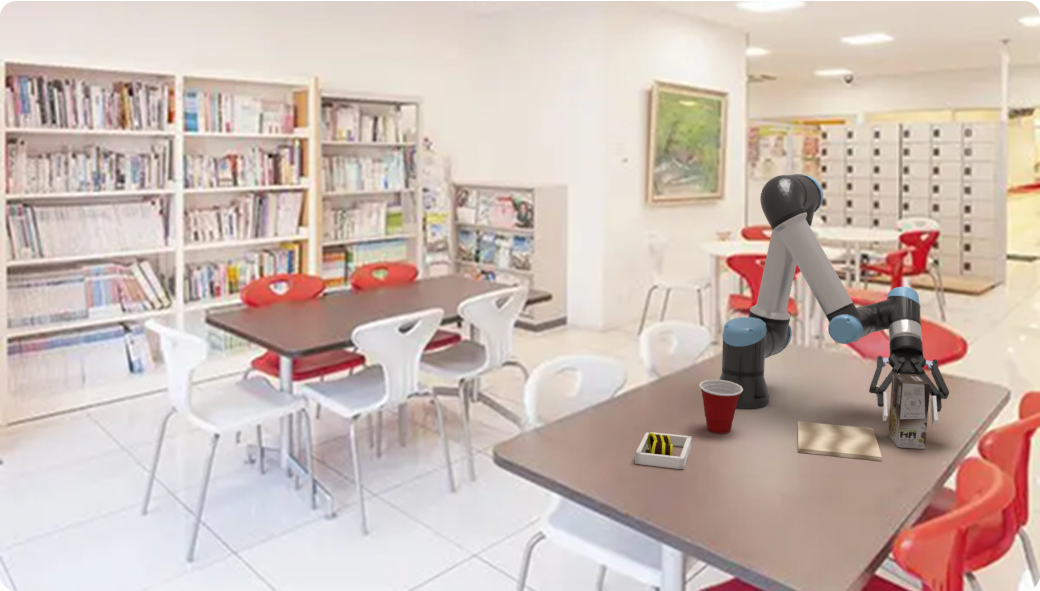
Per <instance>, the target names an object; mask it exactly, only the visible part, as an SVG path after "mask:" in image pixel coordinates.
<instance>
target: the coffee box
mask: <svg viewBox="0 0 1040 591" xmlns="http://www.w3.org/2000/svg"><path fill="white" fill-rule="evenodd" d="M930 385H931V384H930V383H928V382H927V381H926V380H925V379H924V378H922V377H921V376H920V375H916V374H892V382H891V385H890V386H891V388H890V389H891V390H890V400H889V401H890V404H889V407H890V408H889V416H888V417H889V419H888V421H889V422H888V433H887V435H888V437H889V438H890V440H892V442H893V443H894V444H895V446H896V447H897V448H901V449H902V448H905V449H917V450H925V449H926V438H927V437H926V436H927V430H928V417H929V416H928V415H929V408H930V407H929V405H930V396H931V395H930Z"/></svg>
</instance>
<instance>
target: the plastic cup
mask: <svg viewBox="0 0 1040 591" xmlns="http://www.w3.org/2000/svg"><path fill="white" fill-rule="evenodd" d="M699 388H700V390H701V395H702V401H703V402H702V403H703V409H704V416H705V423H706V427H707V428H706V429H707V431H708V432H711V433H714V434H723V435H724V434H728V433H730V432H731V429H732V425H733V421H734V418H735V414H736V410H737V408H736V406H737V401H738V399H739V396H740V394H741V392H742V391H743V388H742V387H741V386H740V385H738V384H736V383H733V382H730V381H725V380H719V379H707V380H702V381H701V382H699Z"/></svg>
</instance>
